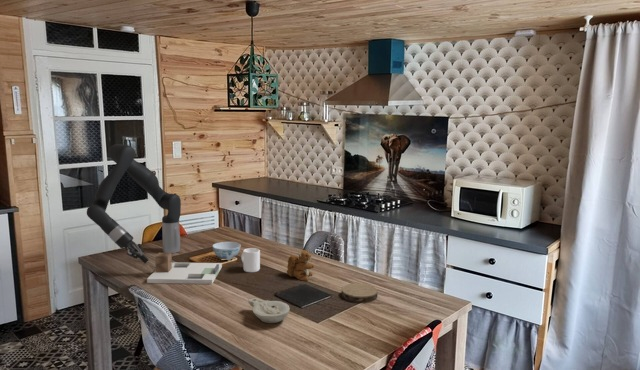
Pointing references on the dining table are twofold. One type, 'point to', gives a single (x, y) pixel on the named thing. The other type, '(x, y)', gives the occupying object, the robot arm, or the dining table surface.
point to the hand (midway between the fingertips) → (147, 261)
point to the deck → (186, 274)
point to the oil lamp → (269, 310)
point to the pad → (209, 271)
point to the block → (163, 262)
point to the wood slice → (359, 292)
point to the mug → (251, 259)
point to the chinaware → (226, 249)
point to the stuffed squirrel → (300, 266)
